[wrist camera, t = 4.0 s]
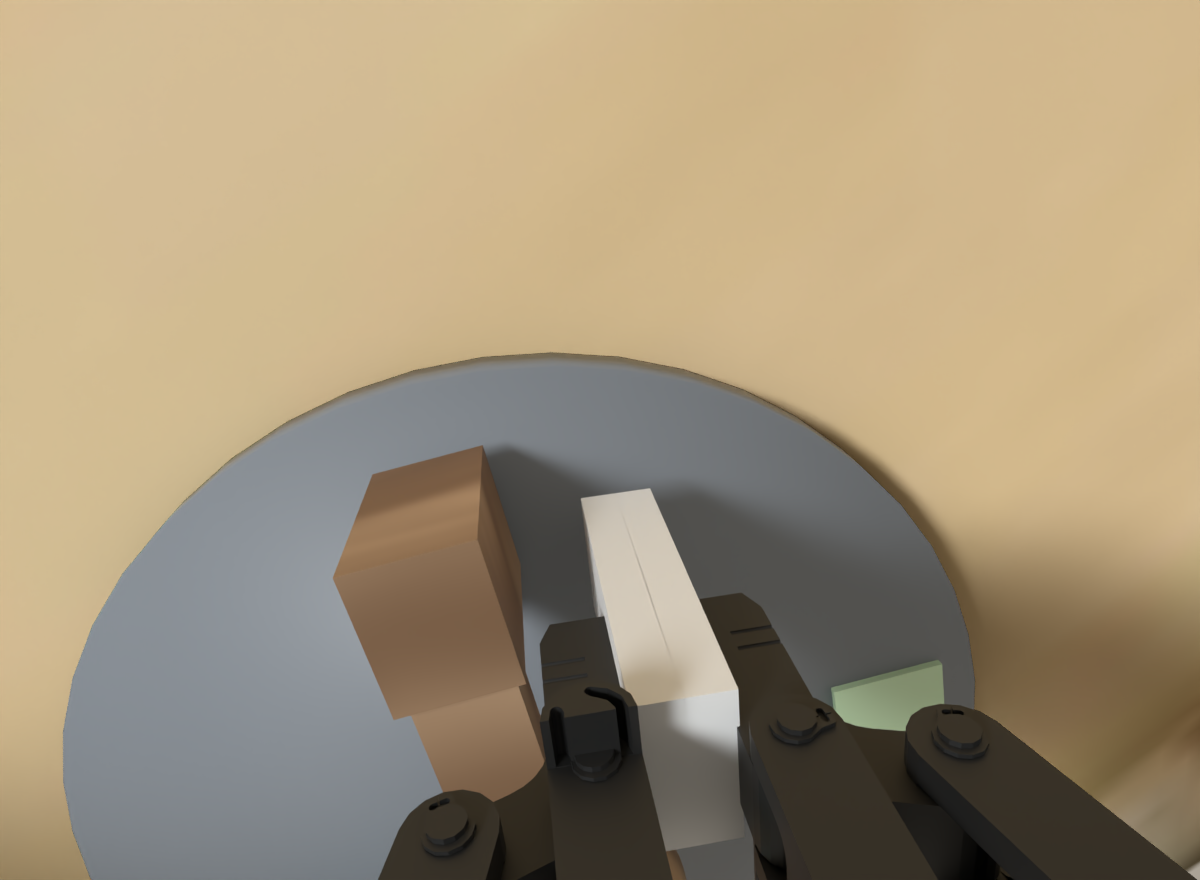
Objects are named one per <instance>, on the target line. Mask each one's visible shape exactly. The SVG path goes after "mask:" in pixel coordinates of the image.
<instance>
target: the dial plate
mask: <svg viewBox="0 0 1200 880" xmlns="http://www.w3.org/2000/svg"><path fill="white" fill-rule="evenodd" d="M481 445H483V448H484V451H485V454H486V457H487V460H488V463H489V467H490V470H491V473H492V476H493V479H494V482H495V485H496V489H497V492H498V495H499V498H500V501H501V504H502V507H503V511H504V514H505V517H506V520H507V523H508V526H509V529H510V533H511V536H512V539H513V542H514V545H515V548H516V551H517V555H518V558H519V561H520V566H521V586H522V607H523V628H524V648H525V669H526V674H527V677H528V680H529V683H530V686H531V689H532V692H533V695H534V698H535V701H536V704H537V707H538V710H539V713H540V716H541V712H542V708H543V707H544V706H545V705H544V693H543V681H542V669H541V668H542V667H541V657H540V642H541V640H542V638H543V636H544V634H545V632H546V631H547V629H548V627H549V625H551V624H557V623H563V622H570V621H576V620H582V619H589V618H595V617H596V614H595V609H594V603H593V594H592V586H591V578H590V570H589V562H588V553H587V545H586V537H585V529H584V521H583V513H582V504H581V498H586V497H593V496H600V495H607V494H614V493H621V492H627V491H634V490H641V489H648V488H650V489H651V492H652V494H653V496H654V499H655V501H656V503H657V505H658V508H659V510H660V512H661V514H662V517H663V519H664V521H665V524H666V526H667V528H668V530H669V533H670V535H671V537H672V540H673V542H674V544H675V546H676V549H677V551H678V553H679V555H680V558H681V560H682V562H683V565H684V567H685V569H686V571H687V574H688V576H689V578H690V580H691V583H692V585H693V587H694V590H695V592H696V594H697V596H698V599H703V598H709V597H716V596H722V595H728V594H735V593H743V594H744V595H746V596H747V597H748V598H750V599H751V600H753V601H754V602H756V603H757V604H758V605H760V606H761V607H762V609H763V610H764V612H765V614H766V616H767V617H768V619H769V621H770V623H771V624H772V628H774V630H775V631H776V633H777V635H778V637H779V638H780V642H781V643H782V644H783V646H784V647H785V649H786V651H787V653H788V654H789V656H790V658H791V660H792V661H793V663H794V665H795V667H796V668H797V670H798V672H799V674H800V675H801V677H802V679H803V681H804V683H805V684H806V686H807V688H808V690H809V691H810V693H811V695H812V697H813V698H816V699H818V700H820V701H822V702H824V703H826V704H827V705H829V706H831V707H832V708H833V709H834V710H835V711H836V712H837V713H838V714H839V715H840V717H841V718H842V719H843V721H844V722H846V723H849V724H852V725H855V726H860V727H866V728H872V729H885V730H897V731H906V725H907V723H908V721H909V719H910V717H911V715H912V714H914V713H915V712H917V711H918V710H920V709H921V708H923V707H927V706H932V705H937V704H950V705H961V706H964V707H967V708H970V709H974V693H975V677H974V670H973V663H972V656H971V649H970V642H969V635H968V632H967V628H966V625H965V622H964V619H963V616H962V613H961V609H960V606H959V603H958V600H957V597H956V594H955V591H954V588H953V586H952V584H951V582H950V581H949V579H948V577H947V575H946V573H945V571H944V569H943V567H942V565H941V563H940V561H939V559H938V557H937V555H936V553H935V551H934V550H933V548H932V546H931V544H930V543H929V542H928V540H927V539H926V538H925V536H924V535H923V534H922V532H921V531H920V530H919V528H918V527H917V526H916V524H915V523H914V522H913V520H912V519H911V518H910V516H909V515H908V514H907V512H906V511H905V510H904V508H903V507H902V506H901V504H900V503H898V502H897V501H896V500H895V499H894V498H893V497H892V496H891V495H890V494H889V493H888V492H887V491H886V490H885V489H884V488H883V487H882V486H881V485H880V484H879V483H878V482H877V481H876V480H875V479H874V478H873V477H871V476H870V475H869V474H868V473H867V472H866V471H865V470H864V469H863V468H862V467H861V466H860V465H859V464H858V463H857V462H856V461H854V460H853V459H852V458H851V457H850V456H849V455H848V454H847V453H846V452H844V451H843V450H842V449H841V448H840V447H838V446H837V445H836V444H834V443H833V442H831V441H830V440H828V439H827V438H826V437H824V436H823V435H821V434H820V433H818V432H817V431H816V430H814V429H813V428H811V427H810V426H808V425H807V424H806V423H804V422H803V421H801V420H800V419H799V418H797V417H796V416H794V415H792V414H790V413H788V412H786V411H784V410H782V409H780V408H778V407H776V406H774V405H772V404H770V403H768V402H766V401H764V400H762V399H760V398H758V397H756V396H754V395H752V394H750V393H748V392H746V391H744V390H742V389H740V388H737V387H734V386H731V385H728V384H725V383H722V382H719V381H716V380H713V379H710V378H707V377H704V376H701V375H698V374H695V373H692V372H690V371H687V370H684V369H679V368H674V367H669V366H664V365H658V364H653V363H648V362H643V361H638V360H633V359H628V358H623V357H614V356H598V355H582V354H566V353H537V354H522V355H506V356H491V357H480V358H475V359H470V360H465V361H460V362H454V363H449V364H444V365H439V366H434V367H429V368H424V369H418V370H413V371H410V372H407V373H404V374H401V375H398V376H395V377H392V378H389V379H386V380H383V381H380V382H377V383H374V384H371V385H368V386H365V387H362V388H359V389H356V390H353V391H350V392H347V393H345V394H343V395H341V396H339V397H337V398H335V399H333V400H331V401H329V402H327V403H325V404H323V405H320V406H318V407H316V408H314V409H312V410H310V411H308V412H306V413H304V414H302V415H300V416H298V417H296V418H294V419H292V420H289V421H287V422H286V423H284V424H283V425H281V426H280V427H278V428H277V429H275V430H274V431H272V432H271V433H269V434H268V435H266V436H265V437H263V438H262V439H260V440H259V441H257V442H256V443H254V444H253V445H251V446H250V447H248V448H247V449H245V450H244V451H242V452H241V453H239V454H238V455H236V456H235V457H233V458H231V459H230V460H229V461H228V462H227V463H226V464H225V465H224V466H223V467H221V468H220V469H219V470H218V471H217V472H216V473H215V474H214V475H212V476H211V477H210V478H209V479H208V480H207V481H206V482H205V483H204V484H202V485H201V486H200V487H199V488H198V489H197V490H196V491H195V492H193V493H192V494H191V495H190V496H189V497H188V498H187V499H186V500H185V501H184V502H183V503H182V504H181V505H180V506H179V507H178V508H177V510H176V511H175V512H174V513H173V514H172V515H171V516H170V517H169V519H168V520H167V521H166V522H165V523H164V524H163V525H162V527H161V528H160V529H159V530H158V532H157V533H156V534H155V535H154V536H153V538H152V539H151V540H150V541H149V542H148V544H147V545H146V546H145V547H144V548H143V550H142V551H141V552H140V553H139V555H138V556H137V557H136V558H135V559H134V561H133V562H132V563H131V564H130V565H129V567H128V568H127V569H126V570H125V572H124V573H123V574H122V576H121V577H120V579H119V581H118V583H117V584H116V586H115V588H114V589H113V591H112V593H111V595H110V596H109V598H108V600H107V601H106V603H105V605H104V607H103V608H102V610H101V612H100V613H99V615H98V617H97V619H96V620H95V622H94V624H93V625H92V628H91V631H90V634H89V636H88V639H87V642H86V644H85V647H84V650H83V652H82V655H81V658H80V660H79V663H78V666H77V668H76V671H75V674H74V676H73V680H72V685H71V691H70V696H69V702H68V707H67V713H66V718H65V724H64V730H63V783H64V788H65V794H66V799H67V804H68V810H69V815H70V820H71V825H72V831H73V834H74V836H75V839H76V842H77V844H78V847H79V849H80V852H81V855H82V857H83V860H84V863H85V865H86V868H87V871H88V873H89V876H90V878H91V880H378V878H379V876H380V873H381V871H382V869H383V866H384V864H385V861H386V859H387V857H388V854H389V852H390V849H391V847H392V845H393V842H394V840H395V838H396V835H397V833H398V830H399V829H400V827H401V825H402V824H403V822H404V821H405V819H406V818H407V816H408V815H409V813H410V812H412V811H413V810H414V809H415V808H416V807H418V806H419V805H420V804H421V803H422V802H424V801H425V800H427V799H429V798H432V797H434V796H436V795H438V794H440V793H443V791H442V789H441V786H440V784H439V781H438V779H437V777H436V774H435V772H434V769H433V767H432V765H431V762H430V760H429V758H428V755H427V753H426V750H425V748H424V746H423V743H422V741H421V738H420V736H419V734H418V731H417V729H416V726H415V724H414V722H413V719H412V717H411V716H407V717H404V718H400V719H396V720H393V717H392V715H391V713H390V710H389V708H388V706H387V703H386V701H385V699H384V696H383V694H382V692H381V689H380V687H379V685H378V682H377V680H376V678H375V675H374V673H373V671H372V668H371V666H370V664H369V662H368V659H367V657H366V655H365V652H364V650H363V648H362V645H361V643H360V641H359V638H358V636H357V634H356V631H355V629H354V627H353V624H352V622H351V620H350V617H349V615H348V613H347V610H346V608H345V606H344V604H343V601H342V599H341V597H340V594H339V592H338V590H337V587H336V585H335V583H334V580H333V576H334V573H335V571H336V568H337V565H338V563H339V560H340V558H341V555H342V552H343V550H344V547H345V544H346V542H347V539H348V537H349V534H350V531H351V529H352V526H353V524H354V521H355V518H356V516H357V513H358V511H359V508H360V505H361V503H362V500H363V498H364V495H365V492H366V490H367V487H368V485H369V482H370V479H371V477H372V474H375V473H379V472H383V471H387V470H391V469H394V468H398V467H402V466H406V465H409V464H413V463H417V462H421V461H425V460H428V459H432V458H436V457H440V456H443V455H447V454H451V453H455V452H459V451H462V450H466V449H470V448H474V447H477V446H481ZM744 834H745V837H742V838H737V839H731V840H726V841H720V842H715V843H710V844H704V845H699V846H693V847H688V848H682V849H677V850H676V851H677V853H678V854H679V857H680V859H681V862H682V865H683V868H684V872H685V876H686V880H755V874H754V847H753V837H752V834H751V831H750V829H749V826H748V823H747V820H746V818H745V815H744Z"/></svg>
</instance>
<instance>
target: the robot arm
mask: <svg viewBox="0 0 1200 880" xmlns="http://www.w3.org/2000/svg"><path fill="white" fill-rule="evenodd" d="M581 504H582V513H583V521H584V529H585V537H586V545H587V553H588V562H589V570H590V578H591V586H592V594H593V603H594V609H595V614H596V617H595V618H589V619H582V620H576V621H570V622H563V623H557V624H551V625H549V627H548V629H547V631H546V632H545V634H544V636H543V638H542V640H541V642H540V657H541V667H542V668H541V669H542V681H543V693H544V705H545V706H544V707H543V708H542V712H541V717H540V728H541V734H542V740H543V746H544V752H545V758H546V759H545V762H544V764H543V766H542V768H541V769H540V770H539V772H538V773H537V775H536V776H535V777H534V778H533V779H532V780H531V781H529V782H528V783H527V784H526V785H525V786H524V787H522V788H520V789H518V790H517V791H515V792H513V793H511V794H509V795H507V796H505V797H503V798H501V799H499V800H496V801H494V802H493V801H491V800H490V799H488V798H487V797H485V796H484V795H483V794H481V793H479V792H474V791H468V790H463V789H462V790H455V791H448V792H443V793H440V794H438V795H436V796H434V797H432V798H429V799H427V800H425V801H424V802H422V803H421V804H420V805H419V806H418V807H416V808H415V809H414V810H413V811H412V812H410V813H409V815H408V816H407V818H406V819H405V821H404V822H403V824H402V825H401V827H400V829H399V830H398V833H397V835H396V838H395V840H394V842H393V845H392V847H391V849H390V852H389V854H388V857H387V859H386V861H385V864H384V866H383V869H382V871H381V873H380V876H379V878H378V880H673V878H672V874H671V870H670V866H669V861H668V857H667V853H666V851H671V850H677V849H682V848H688V847H693V846H699V845H704V844H710V843H715V842H720V841H726V840H731V839H737V838H742V837H745V834H744V815H745V818H746V820H747V823H748V826H749V829H750V831H751V834H752V837H753V847H754V874H755V880H1197V879H1195V878H1194V877H1193V876H1192V875H1191V874H1189V873H1188V872H1187V871H1185V870H1184V869H1183V868H1182V867H1180V866H1179V865H1178V864H1177V863H1175V862H1174V861H1173V860H1172V859H1170V858H1169V857H1168V856H1166V855H1165V854H1164V853H1163V852H1161V851H1160V850H1159V849H1158V848H1156V847H1155V846H1154V845H1153V844H1151V843H1150V842H1149V841H1147V840H1146V839H1145V838H1144V837H1142V836H1141V835H1140V834H1139V833H1137V832H1136V831H1135V830H1134V829H1132V828H1131V827H1130V826H1129V825H1127V824H1126V823H1125V822H1123V821H1122V820H1121V819H1120V818H1118V817H1117V816H1116V815H1115V814H1113V813H1112V812H1111V811H1110V810H1108V809H1107V808H1106V807H1104V806H1103V805H1102V804H1101V803H1099V802H1098V801H1097V800H1096V799H1094V798H1093V797H1092V796H1091V795H1089V794H1088V793H1087V792H1086V791H1084V790H1083V789H1082V788H1080V787H1079V786H1078V785H1077V784H1075V783H1074V782H1073V781H1072V780H1070V779H1069V778H1068V777H1067V776H1065V775H1064V774H1063V773H1061V772H1060V771H1059V770H1058V769H1056V768H1055V767H1054V766H1053V765H1051V764H1050V763H1049V762H1048V761H1046V760H1045V759H1044V758H1043V757H1041V756H1040V755H1039V754H1037V753H1036V752H1035V751H1034V750H1032V749H1031V748H1030V747H1029V746H1027V745H1026V744H1025V743H1024V742H1022V741H1021V740H1020V739H1018V738H1017V737H1016V736H1015V735H1013V734H1012V733H1011V732H1010V731H1008V730H1007V729H1006V728H1005V727H1003V726H1002V725H1001V724H1000V723H998V722H997V721H995V720H993V719H992V718H990V717H988V716H987V715H985V714H983V713H982V712H980V711H977V710H974V709H970V708H967V707H964V706H961V705H950V704H937V705H932V706H927V707H923V708H921V709H920V710H918V711H917V712H915V713H914V714H912V715H911V717H910V719H909V721H908V723H907V725H906V731H897V730H885V729H872V728H866V727H860V726H855V725H852V724H849V723H846V722H844V721H843V719H842V718H841V717H840V715H839V714H838V713H837V712H836V711H835V710H834V709H833V708H832V707H831V706H829V705H827V704H826V703H824V702H822V701H820V700H818V699H816V698H813V697H812V695H811V693H810V691H809V690H808V688H807V686H806V684H805V683H804V681H803V679H802V677H801V675H800V674H799V672H798V670H797V668H796V667H795V665H794V663H793V661H792V660H791V658H790V656H789V654H788V653H787V651H786V649H785V647H784V646H783V644H782V643H781V642H780V638H779V637H778V635H777V633H776V631H775V630H774V628H772V624H771V623H770V621H769V619H768V617H767V616H766V614H765V612H764V610H763V609H762V607H761V606H760V605H758V604H757V603H756V602H754V601H753V600H751V599H750V598H748V597H747V596H746V595H744V594H743V593H735V594H728V595H722V596H716V597H709V598H703V599H698V596H697V594H696V592H695V590H694V587H693V585H692V583H691V580H690V578H689V576H688V574H687V571H686V569H685V567H684V565H683V562H682V560H681V558H680V555H679V553H678V551H677V549H676V546H675V544H674V542H673V540H672V537H671V535H670V533H669V530H668V528H667V526H666V524H665V521H664V519H663V517H662V514H661V512H660V510H659V508H658V505H657V503H656V501H655V499H654V496H653V494H652V492H651V489H650V488H648V489H641V490H634V491H627V492H621V493H614V494H607V495H600V496H593V497H586V498H581Z"/></svg>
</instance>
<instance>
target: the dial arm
mask: <svg viewBox="0 0 1200 880" xmlns="http://www.w3.org/2000/svg"><path fill="white" fill-rule="evenodd" d="M333 580H334V583H335V585H336V587H337V590H338V592H339V594H340V597H341V599H342V601H343V604H344V606H345V608H346V610H347V613H348V615H349V617H350V620H351V622H352V624H353V627H354V629H355V631H356V634H357V636H358V638H359V641H360V643H361V645H362V648H363V650H364V652H365V655H366V657H367V659H368V662H369V664H370V666H371V668H372V671H373V673H374V675H375V678H376V680H377V682H378V685H379V687H380V689H381V692H382V694H383V696H384V699H385V701H386V703H387V706H388V708H389V710H390V713H391V715H392V717H393V720H396V719H400V718H404V717H407V716H411V717H412V719H413V722H414V724H415V726H416V729H417V731H418V734H419V736H420V738H421V741H422V743H423V746H424V748H425V750H426V753H427V755H428V758H429V760H430V762H431V765H432V767H433V769H434V772H435V774H436V777H437V779H438V781H439V784H440V786H441V789H442V791H443V792H448V791H455V790H462V789H463V790H468V791H474V792H479V793H481V794H483V795H484V796H485V797H487V798H488V799H490V800H491V801H493V802H494V801H496V800H499V799H501V798H503V797H505V796H507V795H509V794H511V793H513V792H515V791H517V790H518V789H520V788H522V787H524V786H525V785H526V784H527V783H528V782H529V781H531V780H532V779H533V778H534V777H535V776H536V775H537V773H538V772H539V770H540V769H541V768H542V766H543V764H544V762H545V759H546V758H545V752H544V746H543V740H542V734H541V728H540V717H541V716H540V713H539V710H538V707H537V704H536V701H535V698H534V695H533V692H532V689H531V686H530V683H529V680H528V677H527V674H526V669H525V648H524V628H523V607H522V586H521V566H520V561H519V558H518V555H517V551H516V548H515V545H514V542H513V539H512V536H511V533H510V529H509V526H508V523H507V520H506V517H505V514H504V511H503V507H502V504H501V501H500V498H499V495H498V492H497V489H496V485H495V482H494V479H493V476H492V473H491V470H490V467H489V463H488V460H487V457H486V454H485V451H484V448H483V445H481V446H477V447H474V448H470V449H466V450H462V451H459V452H455V453H451V454H447V455H443V456H440V457H436V458H432V459H428V460H425V461H421V462H417V463H413V464H409V465H406V466H402V467H398V468H394V469H391V470H387V471H383V472H379V473H375V474H372V477H371V479H370V482H369V485H368V487H367V490H366V492H365V495H364V498H363V500H362V503H361V505H360V508H359V511H358V513H357V516H356V518H355V521H354V524H353V526H352V529H351V531H350V534H349V537H348V539H347V542H346V544H345V547H344V550H343V552H342V555H341V558H340V560H339V563H338V565H337V568H336V571H335V573H334V576H333ZM666 853H667V857H668V861H669V866H670V870H671V874H672V878H673V880H686V876H685V872H684V868H683V865H682V862H681V859H680V857H679V854H678V853H677V851H676V850H671V851H666Z"/></svg>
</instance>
